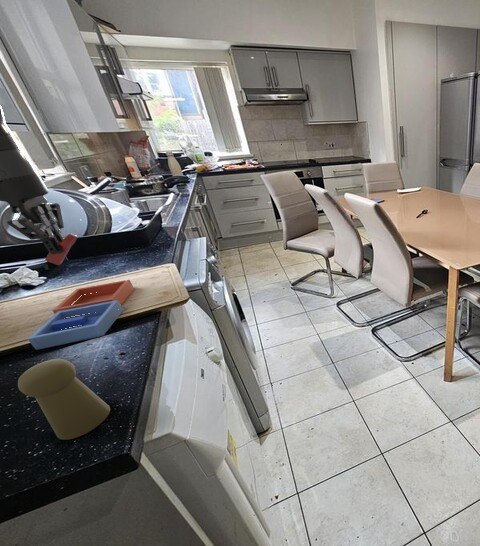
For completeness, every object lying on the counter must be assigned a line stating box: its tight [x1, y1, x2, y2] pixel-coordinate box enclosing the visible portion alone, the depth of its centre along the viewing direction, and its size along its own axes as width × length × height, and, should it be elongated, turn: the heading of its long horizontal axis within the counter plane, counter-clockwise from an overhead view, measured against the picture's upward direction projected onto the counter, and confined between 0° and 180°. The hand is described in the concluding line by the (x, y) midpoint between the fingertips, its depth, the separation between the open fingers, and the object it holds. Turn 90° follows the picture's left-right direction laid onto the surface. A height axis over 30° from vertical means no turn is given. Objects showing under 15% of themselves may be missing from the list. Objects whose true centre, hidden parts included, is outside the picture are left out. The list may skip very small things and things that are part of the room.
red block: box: [44, 233, 78, 266], centre depth 72 cm, size 8×3×2 cm
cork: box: [17, 358, 111, 441], centre depth 44 cm, size 6×6×11 cm
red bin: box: [51, 279, 135, 315], centre depth 76 cm, size 11×10×3 cm
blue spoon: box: [51, 315, 101, 332], centre depth 67 cm, size 8×3×2 cm, turn 110°
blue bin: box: [27, 300, 124, 351], centre depth 67 cm, size 11×10×3 cm
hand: (60, 251), depth 72 cm, fingers closed on red block, 1 cm apart
